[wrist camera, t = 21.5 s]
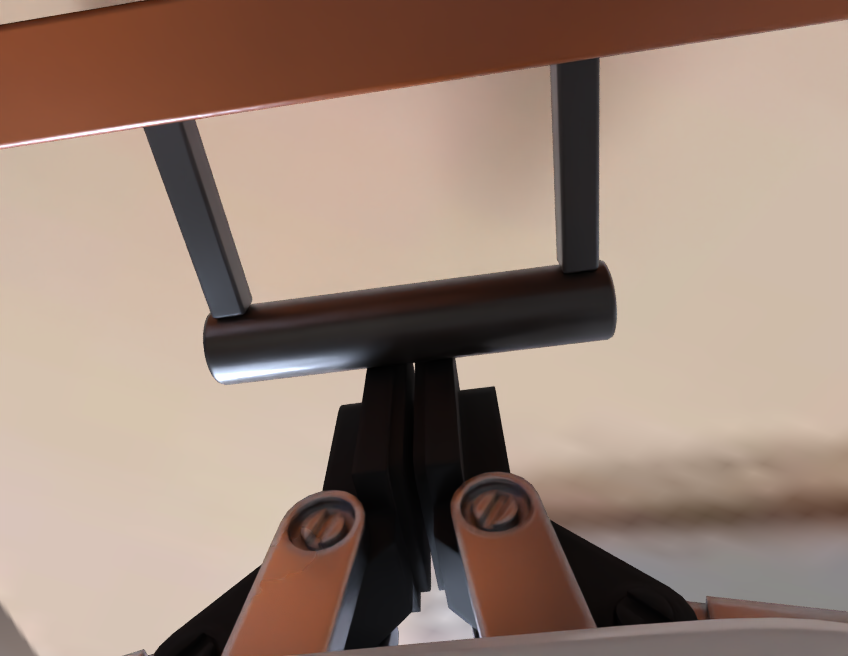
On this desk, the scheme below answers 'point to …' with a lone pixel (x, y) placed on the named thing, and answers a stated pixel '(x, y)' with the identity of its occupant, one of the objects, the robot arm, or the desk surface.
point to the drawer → (345, 76)
